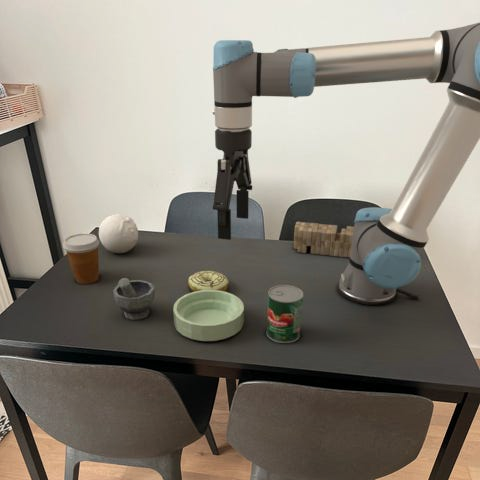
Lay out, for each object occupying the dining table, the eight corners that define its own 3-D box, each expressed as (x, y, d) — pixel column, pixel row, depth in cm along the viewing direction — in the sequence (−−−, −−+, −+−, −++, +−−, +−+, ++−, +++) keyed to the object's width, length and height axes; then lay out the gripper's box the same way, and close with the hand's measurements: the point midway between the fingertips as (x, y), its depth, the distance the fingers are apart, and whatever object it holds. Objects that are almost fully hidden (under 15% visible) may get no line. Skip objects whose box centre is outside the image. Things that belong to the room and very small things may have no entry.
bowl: (250, 312, 118) (251, 295, 115) (232, 349, 104) (232, 330, 101) (189, 303, 121) (188, 286, 119) (163, 337, 108) (162, 319, 105)
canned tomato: (299, 325, 113) (303, 285, 107) (300, 344, 106) (304, 302, 100) (267, 323, 113) (269, 283, 107) (265, 342, 107) (267, 300, 101)
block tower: (292, 254, 150) (385, 261, 144) (293, 229, 146) (389, 236, 140) (295, 245, 157) (385, 251, 151) (296, 221, 152) (389, 226, 146)
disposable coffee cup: (63, 284, 130) (54, 244, 123) (81, 269, 137) (74, 231, 131) (94, 288, 128) (87, 247, 121) (110, 273, 136) (104, 234, 129)
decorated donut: (212, 302, 122) (211, 289, 120) (181, 291, 127) (180, 278, 125) (235, 287, 129) (235, 275, 127) (205, 276, 134) (204, 265, 132)
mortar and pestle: (125, 302, 121) (120, 260, 115) (160, 305, 120) (156, 262, 114) (109, 325, 112) (102, 280, 106) (146, 328, 111) (141, 283, 105)
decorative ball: (130, 261, 143) (125, 224, 136) (94, 257, 145) (88, 220, 139) (146, 246, 153) (142, 210, 146) (112, 242, 155) (107, 207, 149)
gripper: (234, 118, 106) (234, 208, 117) (193, 138, 86) (198, 246, 97) (266, 119, 104) (263, 211, 115) (232, 141, 84) (233, 250, 95)
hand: (233, 227), depth 106 cm, fingers open, 13 cm apart
